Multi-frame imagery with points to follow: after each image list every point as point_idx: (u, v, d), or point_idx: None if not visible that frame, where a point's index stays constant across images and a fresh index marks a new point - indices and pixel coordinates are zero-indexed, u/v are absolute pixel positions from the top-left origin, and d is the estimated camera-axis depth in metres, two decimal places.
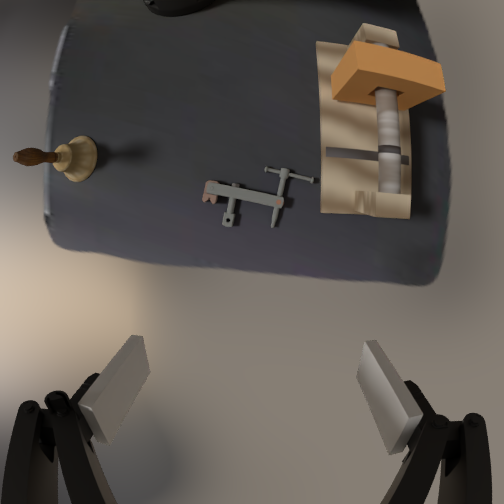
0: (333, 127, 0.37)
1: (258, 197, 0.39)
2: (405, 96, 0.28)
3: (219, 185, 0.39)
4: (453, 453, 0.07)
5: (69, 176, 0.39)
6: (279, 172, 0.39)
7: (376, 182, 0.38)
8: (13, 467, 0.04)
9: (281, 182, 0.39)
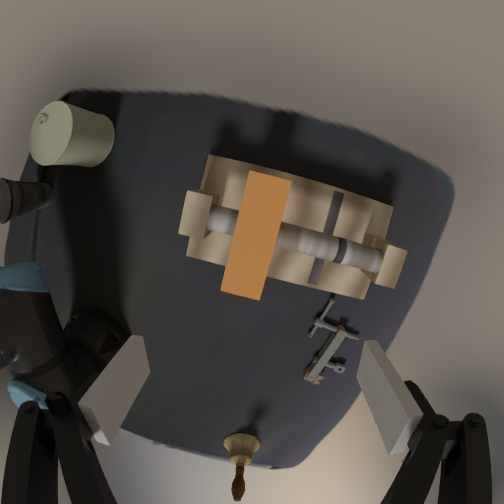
0: (289, 270, 0.40)
1: (332, 348, 0.42)
2: None
3: (311, 372, 0.44)
4: (453, 453, 0.07)
5: None
6: (316, 326, 0.43)
7: (353, 239, 0.39)
8: (13, 467, 0.04)
9: (326, 327, 0.42)
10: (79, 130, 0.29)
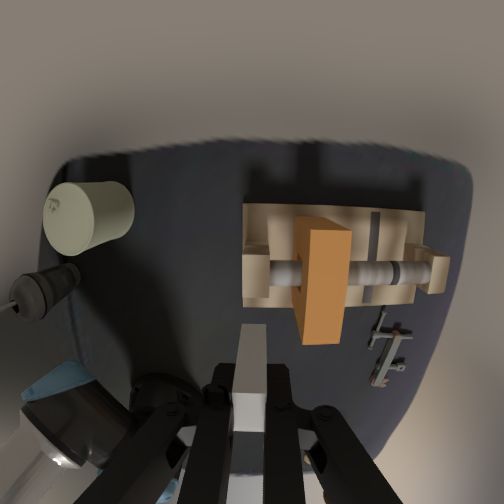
0: None
1: (392, 353, 0.42)
2: None
3: (377, 378, 0.43)
4: (306, 444, 0.09)
5: None
6: (375, 338, 0.42)
7: (395, 252, 0.38)
8: (119, 467, 0.06)
9: (383, 336, 0.42)
10: (100, 211, 0.30)
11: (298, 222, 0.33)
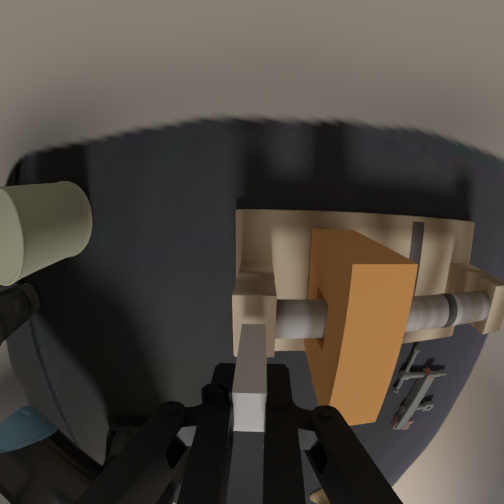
0: None
1: (421, 394, 0.30)
2: None
3: (401, 422, 0.31)
4: (306, 444, 0.09)
5: None
6: None
7: (439, 275, 0.27)
8: (119, 467, 0.06)
9: (412, 377, 0.30)
10: (34, 224, 0.18)
11: (319, 240, 0.22)
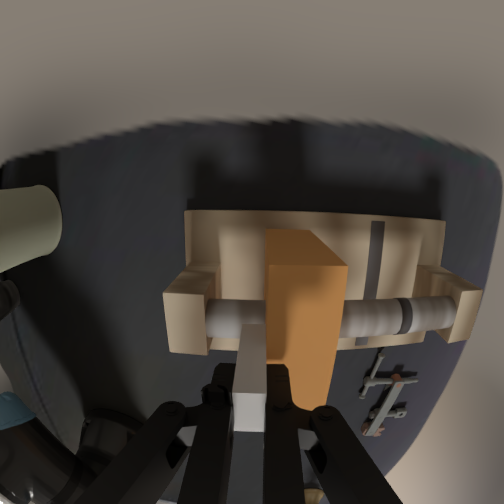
0: None
1: (389, 401, 0.30)
2: None
3: (370, 428, 0.32)
4: (306, 444, 0.09)
5: None
6: (368, 386, 0.31)
7: (404, 277, 0.27)
8: (119, 467, 0.06)
9: (379, 383, 0.30)
10: (5, 226, 0.18)
11: None
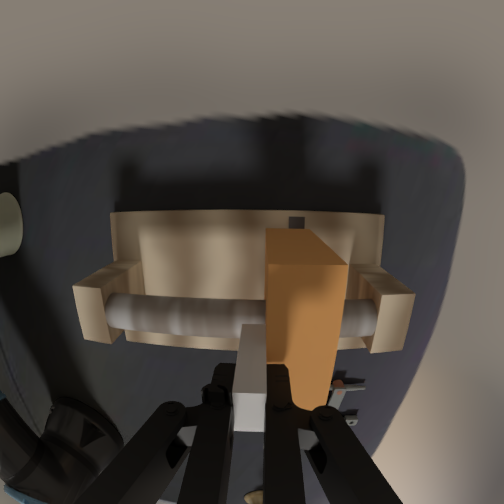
0: None
1: None
2: None
3: None
4: (306, 444, 0.09)
5: None
6: None
7: None
8: (120, 467, 0.06)
9: None
10: None
11: None
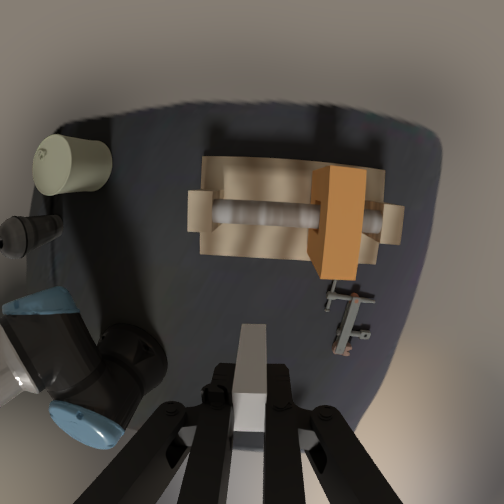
0: (299, 248, 0.42)
1: (351, 317, 0.44)
2: None
3: (338, 345, 0.45)
4: (306, 444, 0.09)
5: None
6: (330, 300, 0.44)
7: None
8: (119, 467, 0.06)
9: (339, 298, 0.44)
10: (78, 157, 0.32)
11: (316, 172, 0.35)
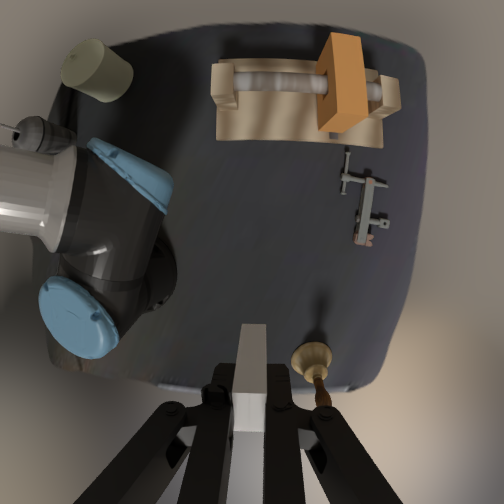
0: (310, 130, 0.41)
1: (368, 199, 0.43)
2: None
3: (359, 232, 0.44)
4: (306, 444, 0.09)
5: None
6: (345, 181, 0.43)
7: None
8: (119, 467, 0.06)
9: (353, 179, 0.43)
10: (109, 55, 0.31)
11: (319, 59, 0.34)
